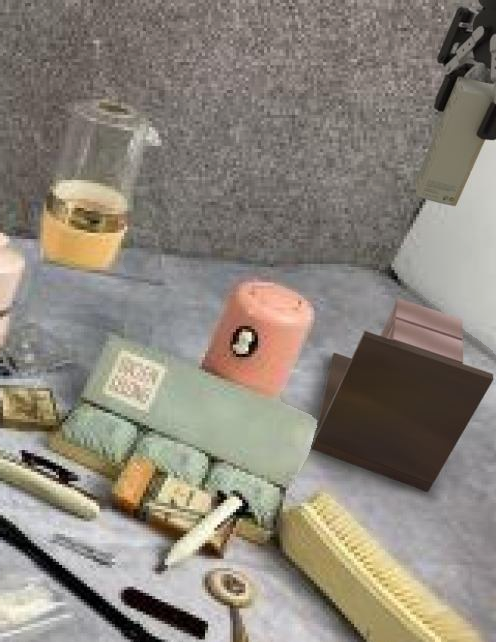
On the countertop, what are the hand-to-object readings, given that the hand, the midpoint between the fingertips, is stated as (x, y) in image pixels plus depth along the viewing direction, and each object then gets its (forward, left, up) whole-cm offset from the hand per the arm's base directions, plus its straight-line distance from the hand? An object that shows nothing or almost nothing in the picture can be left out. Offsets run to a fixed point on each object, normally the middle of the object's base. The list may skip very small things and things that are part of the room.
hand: (463, 123), depth 101 cm
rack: (+13, +21, -24) cm, 34 cm away
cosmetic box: (0, 0, -8) cm, 8 cm away
